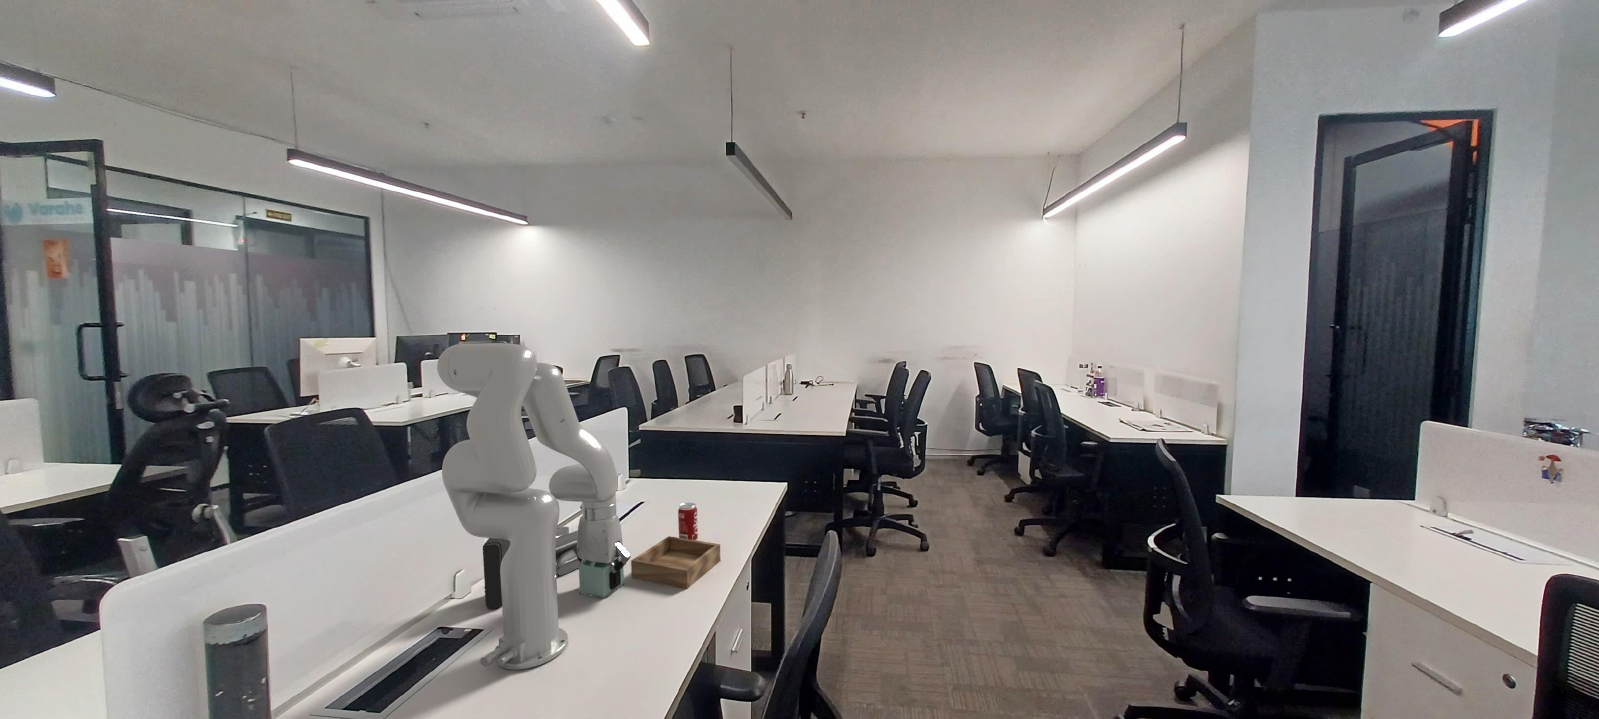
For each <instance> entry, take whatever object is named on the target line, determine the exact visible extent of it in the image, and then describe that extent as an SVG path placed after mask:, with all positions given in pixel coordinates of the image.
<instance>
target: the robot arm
mask: <svg viewBox="0 0 1599 719" xmlns="http://www.w3.org/2000/svg"><path fill="white" fill-rule="evenodd" d="M436 366H437V368H436V370H437V373H438V376H439V378H440V380H441V381H442V382H443V384H445V386H447V387H448V388H450V389H451V390H453V391H456V392H459V393H462V394H465V395H467V396H470V397H474V398H476V399H475V401H474V402H473V404H472V406H471V408H470V410H469V412H468V415H467V419H466V431H467V433H468V437H469V439H465V440H462V441H459V442H457V443H455V444H454V445H452V446H451V447H450V448H449V450H448V451H447V452H446V454H445V456H444V458H443V461H442V466H441V476H442V482H443V485H444V487H445V490H446V492H447V494H448V497H449V499H450V501H451V504H452V506H453V509H454V511H455V514H456V516H457V518H458V520H459V522H460V525H461V526H462V527H463V529H464V530H465V532H466V533H467V534H469V535H470V536H474V537H478V538H484V539H489V538H494V539H503V540H509V541H510V547H509V549H508V551H507V552H506V554H505V555H504V557H503V559H502V562H501V567H500V575H501V592H502V606H501V608H502V609H501V610H502V629H503V635H502V636H500V637H498V645H497V646H495V648H494V650H492V651H490V652H488V653H487V654H485V655H484V656H482V657H481V658H480V665H481V666H482V667H483V668H485V669H486V668H488V667H489V666H491V665H493V664H495V663H496V664H497V665H498V666H499V667H501V668H503V669H506V670H525V669H530V668H534V667H537V666H542V665H543V664H545V663H548V662H550V661H552V660H553V659H555V658H556V657H558V656H559V655H560V654H561V653H562V652H564V650H565V649H566V648H567V646H568V643H569V642H568V641H569V636H568V633H567V630H566V631H565V630H564V629H563V628H560V626H559V608H558V607H559V605H558V583H557V574H556V565H557V563H556V551H555V548H556V533H557V528H558V524H559V519H560V505H559V504H560V503H559V501H565V502H581V504H580V505H579V509H580V510H582V516H580V517H579V520H578V525H577V530H578V533H577V544H576V545H575V546H574V547H573V551H574V553H575V554H576V555H577V559H578V560H579V561H580V564H581V563H582V562H584V561H587V560H588V561H593V562H598V563H604V564H608V565H609V567H610V570H611V573H609V578H610V589H611V590H613V589H615V588H616V587H617V586H619V585H620V584H621V569H622V568H624V566H625V565H627V562H628V561H629V560H630V559H631V555H630V553H629V551H627V550H626V548H625V547H624V545H623V534H622V527H621V523H620V522H621V521H620V519H619V515H617V495H616V494H617V491H618V488H619V487H618V485H619V477H618V473H617V469H616V465H615V462H614V460H613V457H612V454H611V453H610V451H609V449H608V448H607V446H606V445H605V444H604V443H603V442H602V441H600V440H599V438H597V436H595V435H594V434H593V433H592V432H591V431H589V430H588V429H587V428H585V427H584V426H582V424H581V423H580V421H579V419H578V416H577V413H576V410H575V408H574V405H573V404H574V403H573V402H572V399H571V397H570V393H569V391H568V390H569V389H568V387H567V385H566V382H565V380H564V377H563V374H562V372H561V371H560V369H559V368H558V367H556V366H555V365H553V364H550V363H547V362H546V363H545V362H538V361H537V358H536V355H535V353H534V351H532V349H530V348H529V347H527V346H525V345H522V344H517V343H507V342H506V343H505V342H504V343H503V342H492V343H491V342H489V343H482V342H481V343H477V342H476V343H471V342H470V343H469V342H468V343H466V342H465V343H456V344H453V345H451V346H448V347H447V348H445V349H444V350H443V352H442V353H441V354H440V355H439V356H438V360H437V364H436ZM522 407H523V408H524V410H525V412H526V415H527V418H528V420H529V422H530V424H531V426H532V430H533V432H534V434H535V437H536V439H537V441H538V442H539V443H540V444H541V445H543V446H545V447H546V448H549V449H551V450H553V451H555V452H556V453H559V454H561V455H564V456H566V457H568V458H570V459H573V460H574V461H576V462H578V463H577V464H572V465H566V466H563V467H561V468H559V469H557V470H556V471H555V472H554V473H553V474H552V475H551V478H550V479H549V482H548V489H549V491H547V490H543V489H538V488H531V487H530V486H532V485H533V483H534V482H535V480H536V477H537V464H536V461H535V457H534V453H533V451H532V447H531V444H530V442H529V438H528V435H527V432H526V430H525V426H524V423H523V419H522V418H523V417H522V409H523V408H522ZM529 487H530V488H529ZM558 500H559V501H558ZM620 556H621V560H620V558H619V557H620ZM614 560H615V561H616V566H615V565H614V562H613V561H614Z"/></svg>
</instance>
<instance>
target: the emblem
mask: <svg viewBox="0 0 1599 719" xmlns="http://www.w3.org/2000/svg"><path fill="white" fill-rule="evenodd" d="M577 533H578V529H577V530H575V531H572V532H570V527H569V526H560V527H557V533H556V548H555V551H556V575H559V576H564V575H566V574H568V573H571V572H572V571H575V570H576V569H579V564H580V561H579V560H578V559H577V555H576V554H575V553H574V551H573V547H574V546H575V545H576V544H577Z"/></svg>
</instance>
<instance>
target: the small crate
mask: <svg viewBox="0 0 1599 719" xmlns="http://www.w3.org/2000/svg"><path fill="white" fill-rule="evenodd" d="M619 558H620V560H621V556H620V557H619ZM613 562H614V565H615V566H616V561H615V560H614V561H613ZM609 573H611V570H610V567H609V565H608V564H604V563H598V562H593V561H588V560H587V561H584V562H582V563H581V564H579V568H578V579H579V582H578V583H579V584H578V585H579V594H580V593H581V594H580V595H584V594H586V595H585V596H588V595H592V596H591V597H593V596H595V597H594V598H598V597H599V598H600V599H602V598H604V599H606V598H607V597H608V595H609V596H610V595H611V593H612V592H613V593H615V592H616V591H617V590H619V589H620V588H622V587H623V586H625V577H624V576H625V574H624V567H623V568H622V569H621V584H620V585H619V586H617V587H616V588H615V589H613V590H611V589H610V578H609ZM622 585H623V586H622ZM621 586H622V587H621ZM618 588H619V589H618ZM615 590H616V591H615ZM614 591H615V592H614ZM613 593H612V594H613ZM599 598H598V599H599Z"/></svg>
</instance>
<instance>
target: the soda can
mask: <svg viewBox="0 0 1599 719" xmlns="http://www.w3.org/2000/svg"><path fill="white" fill-rule="evenodd" d="M696 505H697V504H696V503H695V502H683V503H681V504H679V508H678V510H677V516H678V518H677V519H678V521H677V522H678V538H683V539H690V540H696V541H699V538H698V537H699V535H698V534H699V533H698V531H699V530H698V528H699V527H698V508H697V506H696Z"/></svg>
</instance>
